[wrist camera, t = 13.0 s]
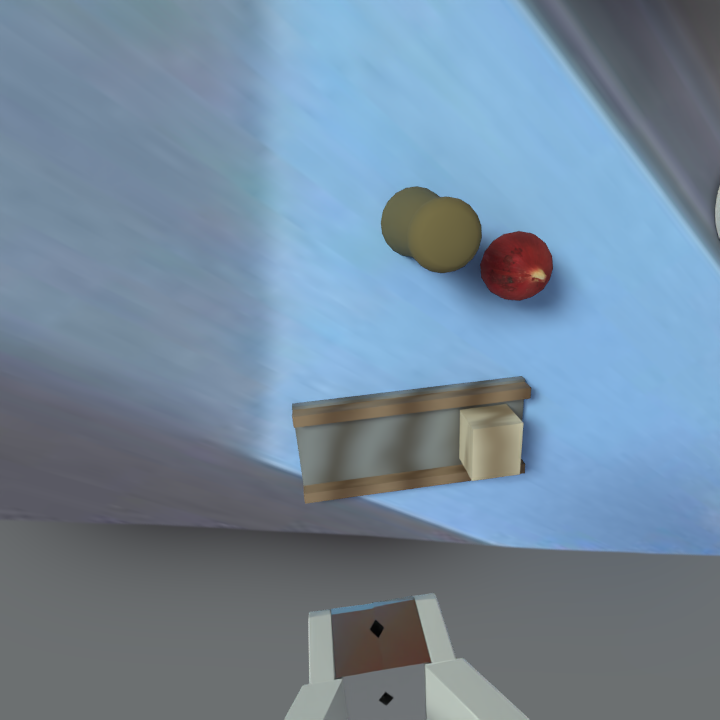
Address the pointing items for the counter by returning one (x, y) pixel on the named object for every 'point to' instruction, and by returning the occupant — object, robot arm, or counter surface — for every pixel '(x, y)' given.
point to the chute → (392, 437)
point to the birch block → (490, 442)
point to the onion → (516, 266)
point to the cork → (431, 229)
